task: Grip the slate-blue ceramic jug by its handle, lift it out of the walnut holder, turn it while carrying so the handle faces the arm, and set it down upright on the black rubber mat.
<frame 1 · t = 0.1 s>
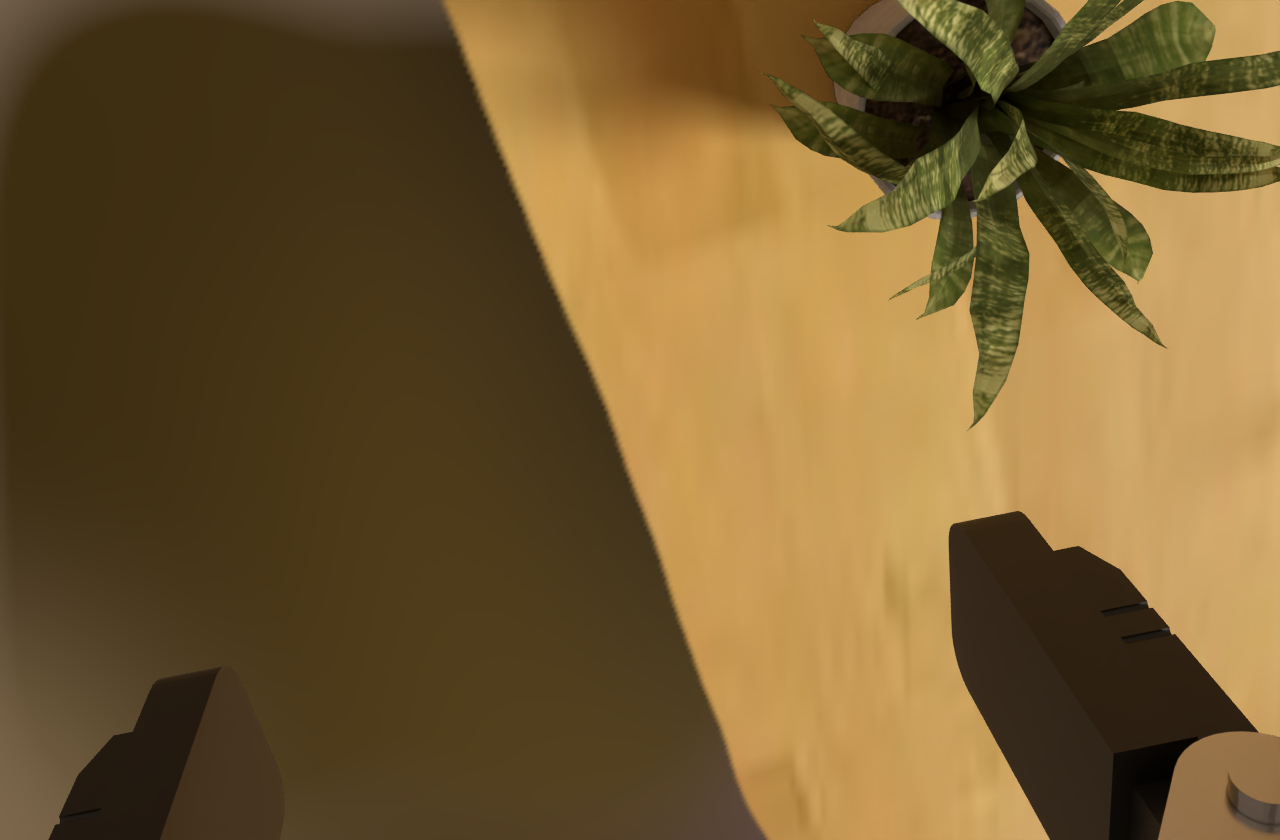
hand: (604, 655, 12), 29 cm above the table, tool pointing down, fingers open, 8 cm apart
house plant: (926, 33, 39), on the table
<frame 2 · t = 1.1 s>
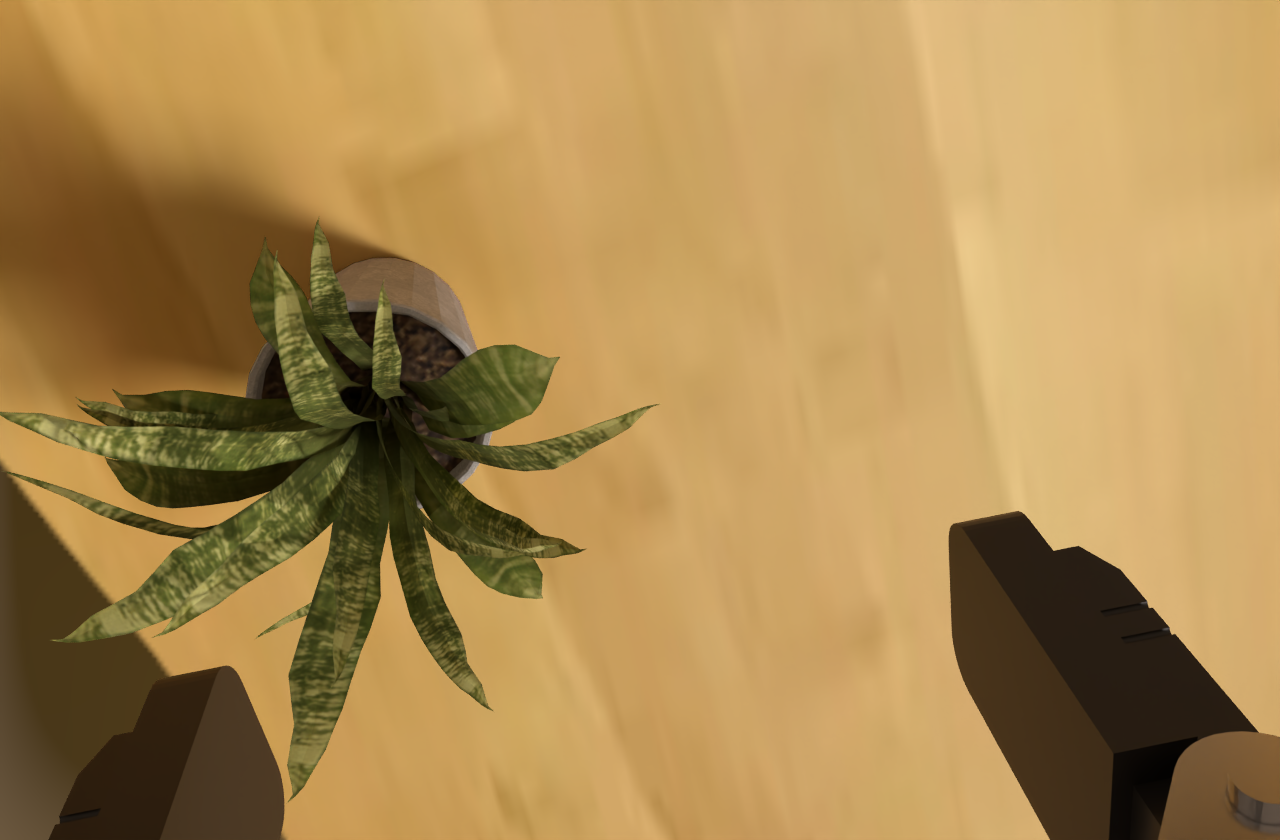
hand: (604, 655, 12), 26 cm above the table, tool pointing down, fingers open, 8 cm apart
house plant: (406, 293, 37), on the table
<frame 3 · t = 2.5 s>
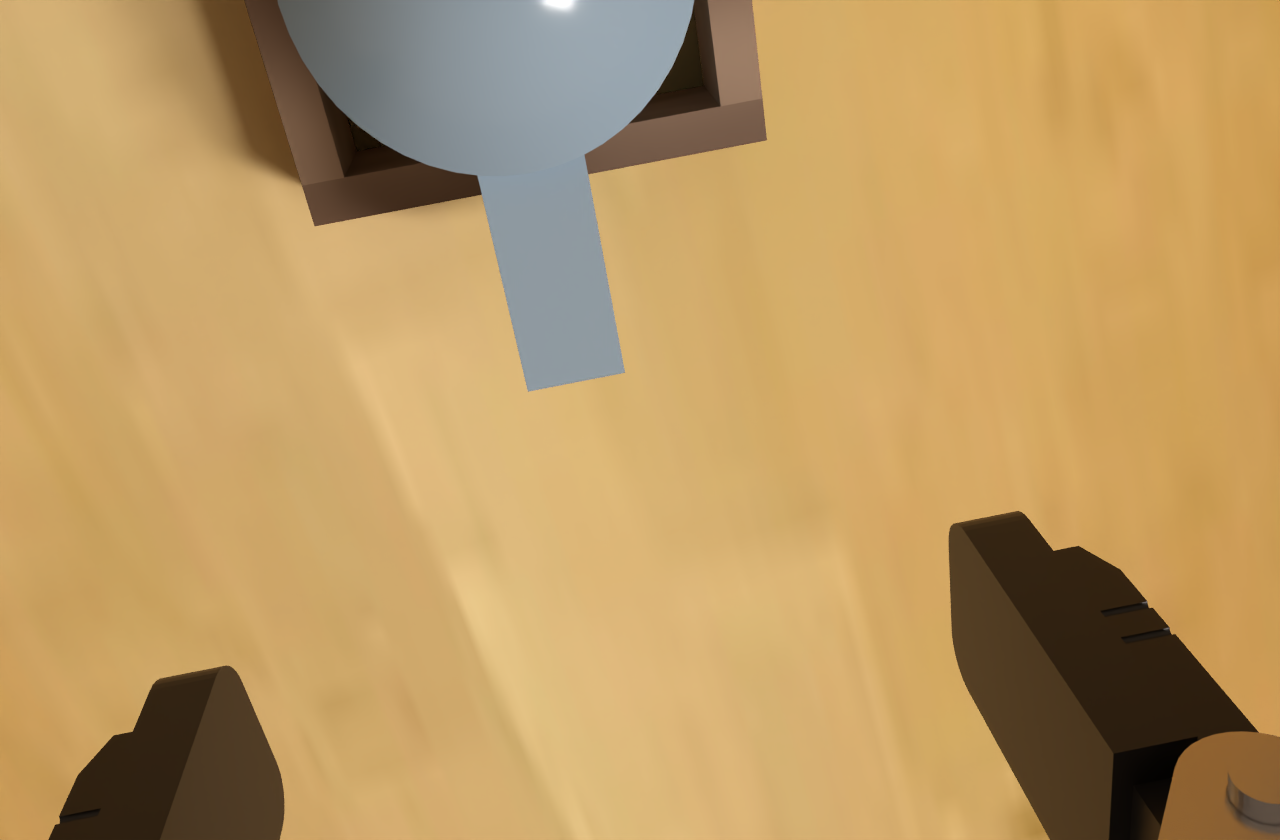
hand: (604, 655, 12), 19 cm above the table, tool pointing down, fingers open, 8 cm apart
jug: (507, 26, 23), in the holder
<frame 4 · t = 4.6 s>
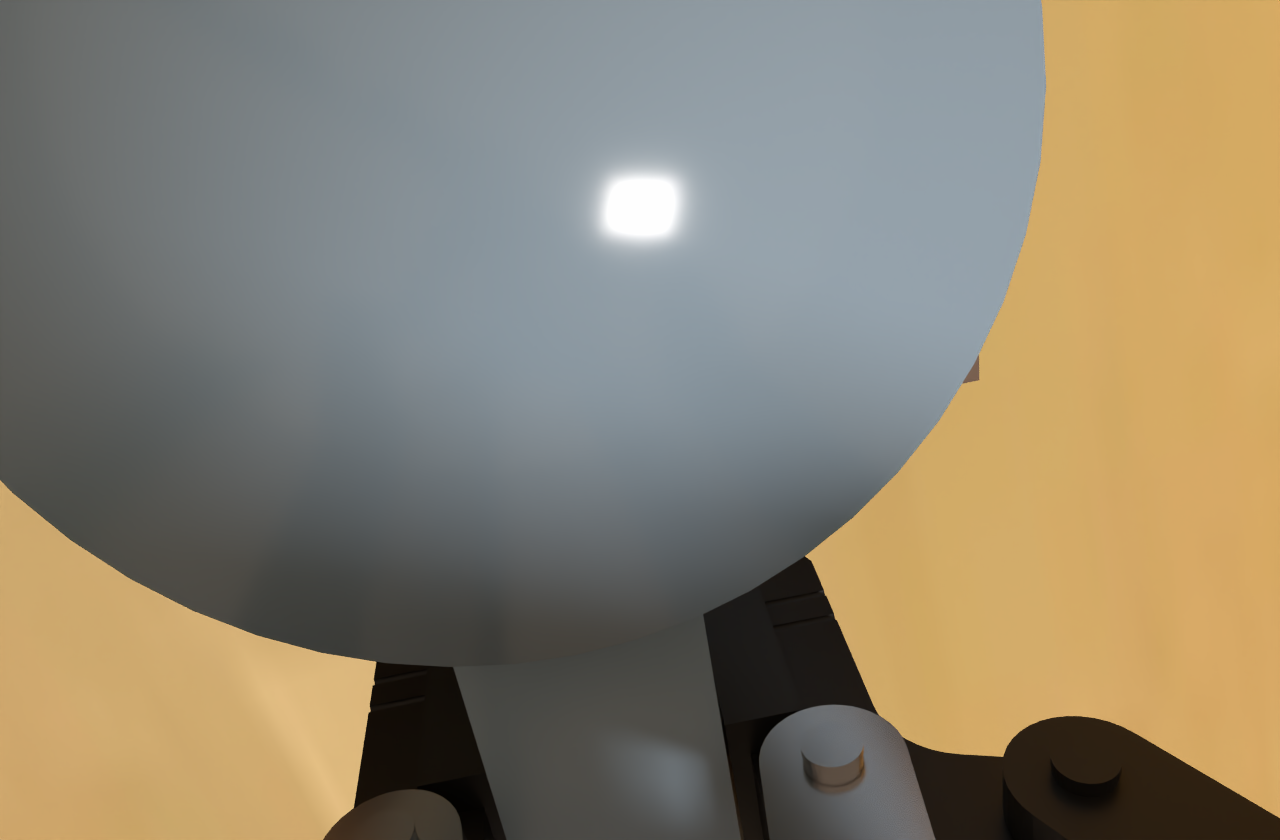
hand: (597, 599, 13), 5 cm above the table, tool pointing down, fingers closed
jug: (515, 223, 11), in the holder, touching gripper
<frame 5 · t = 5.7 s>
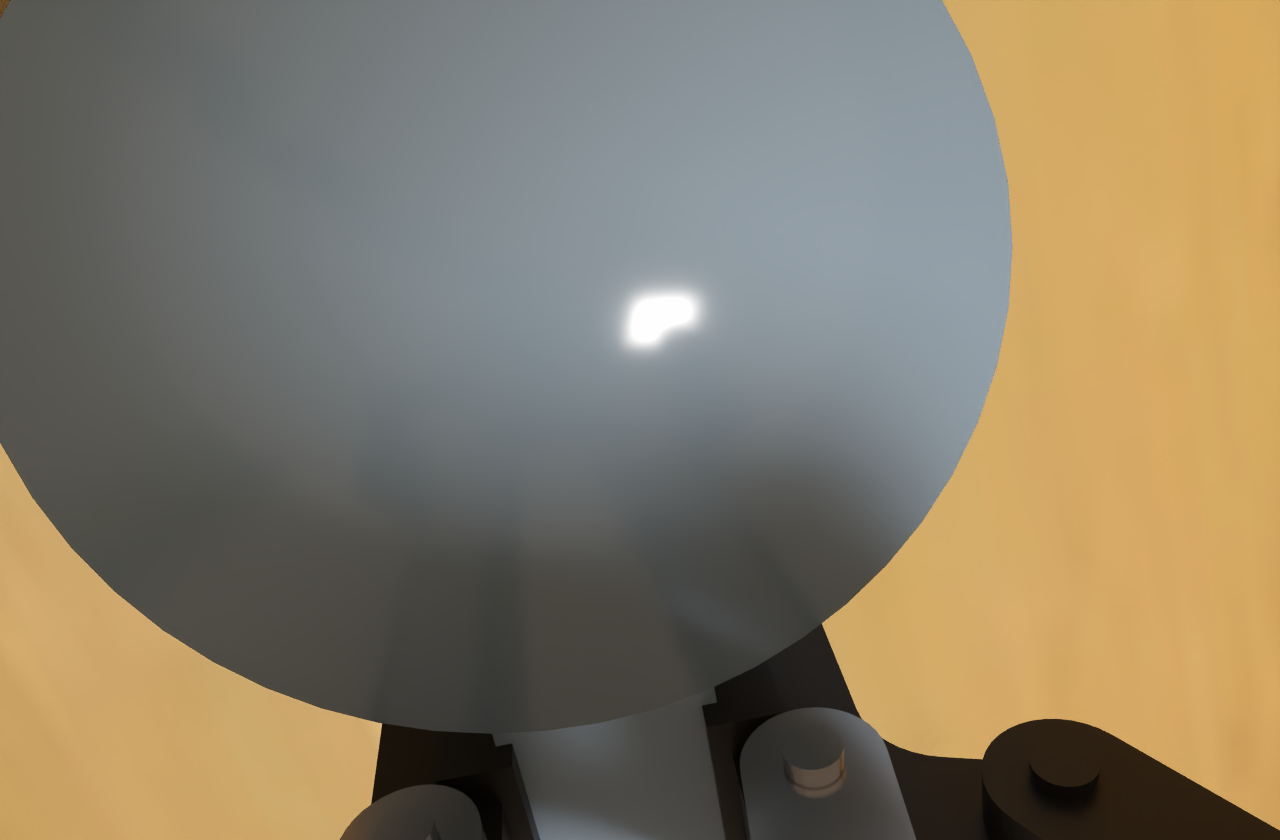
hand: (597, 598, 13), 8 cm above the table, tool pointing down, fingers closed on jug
jug: (539, 309, 12), point 8 cm above the table, touching gripper
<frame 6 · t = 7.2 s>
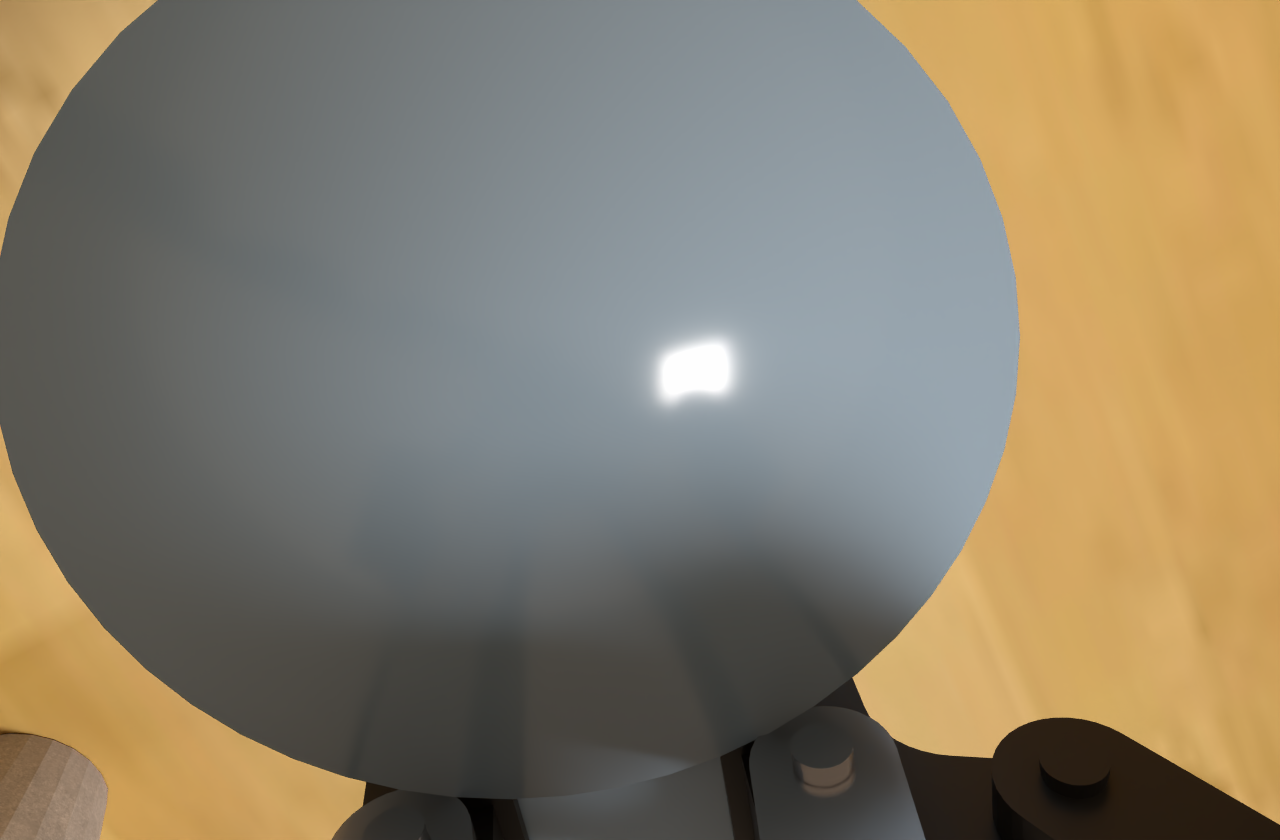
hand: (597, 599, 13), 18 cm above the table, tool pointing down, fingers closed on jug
house plant: (35, 758, 37), on the table
jug: (552, 366, 13), point 18 cm above the table, touching gripper
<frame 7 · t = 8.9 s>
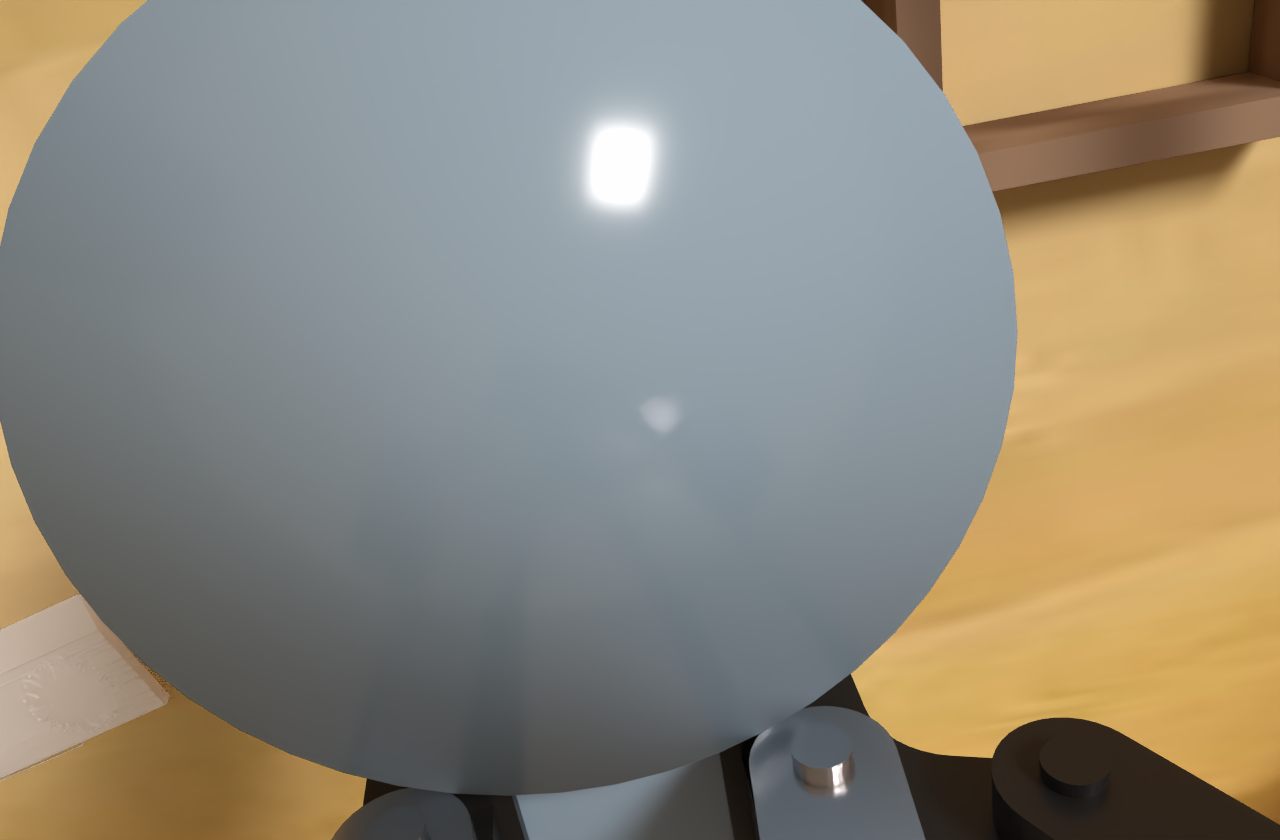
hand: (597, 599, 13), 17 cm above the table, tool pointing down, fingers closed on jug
jug: (551, 365, 13), point 17 cm above the table, touching gripper
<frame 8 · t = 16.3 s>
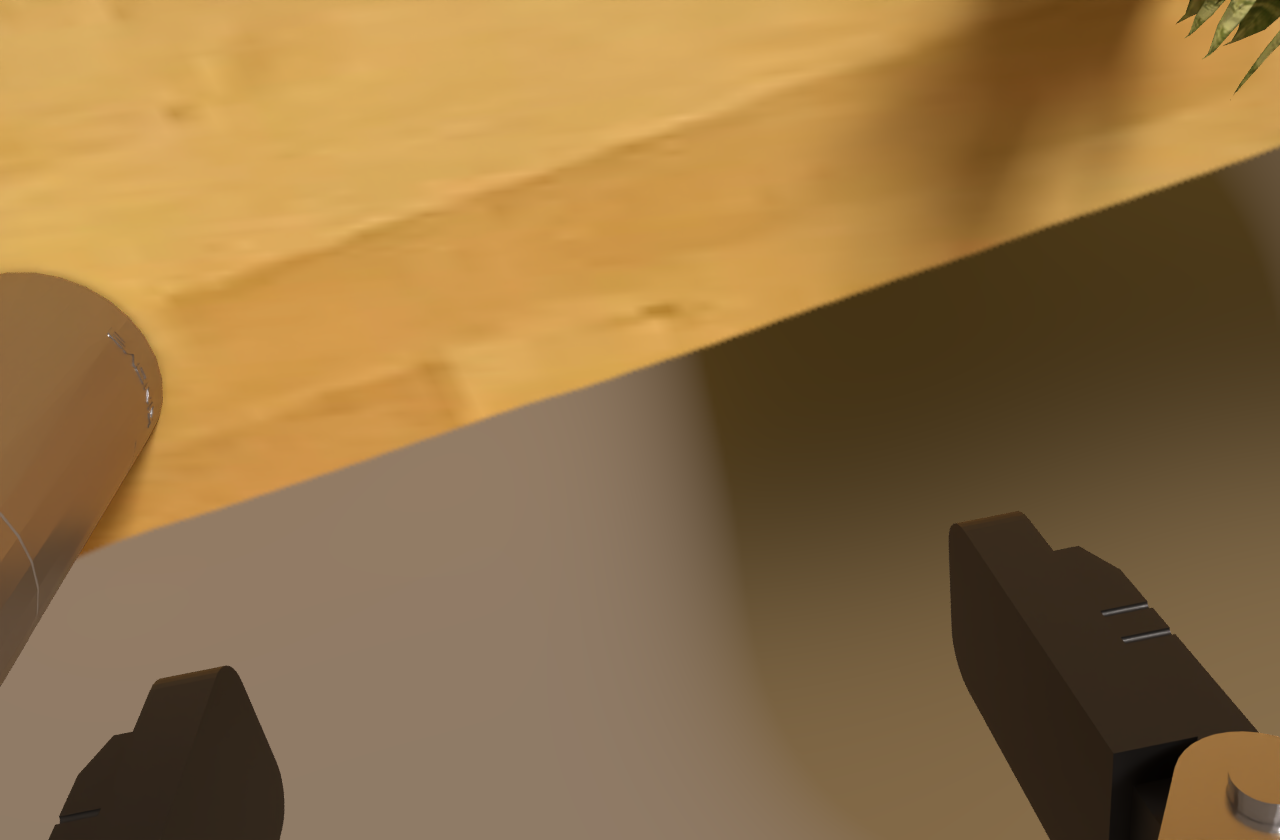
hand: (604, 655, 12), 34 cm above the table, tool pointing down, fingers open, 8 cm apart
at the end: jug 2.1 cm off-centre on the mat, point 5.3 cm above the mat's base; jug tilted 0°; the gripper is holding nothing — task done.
